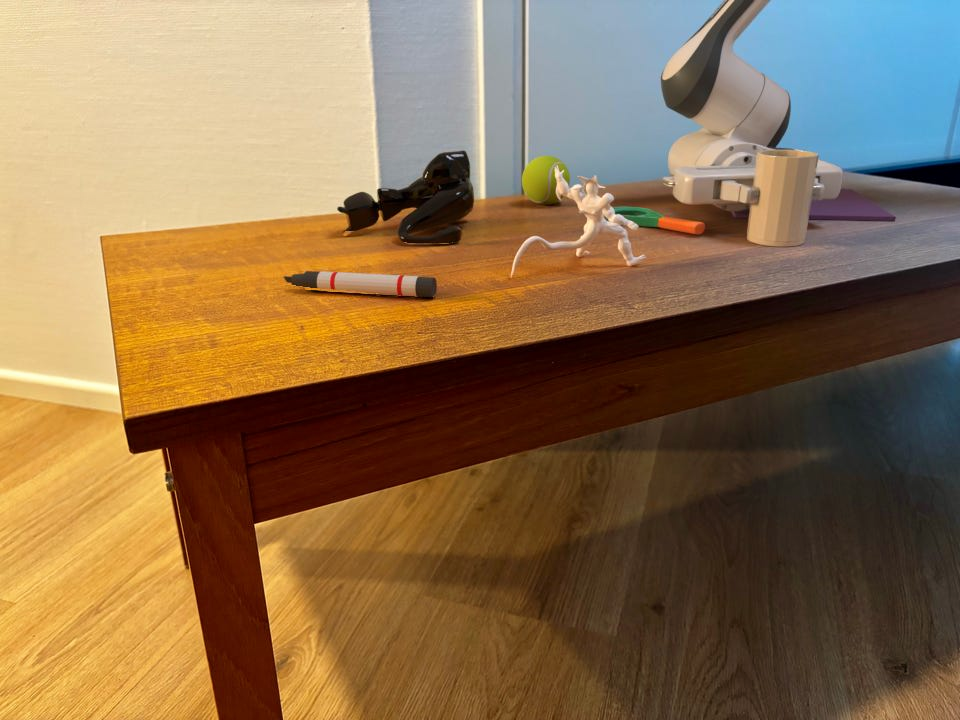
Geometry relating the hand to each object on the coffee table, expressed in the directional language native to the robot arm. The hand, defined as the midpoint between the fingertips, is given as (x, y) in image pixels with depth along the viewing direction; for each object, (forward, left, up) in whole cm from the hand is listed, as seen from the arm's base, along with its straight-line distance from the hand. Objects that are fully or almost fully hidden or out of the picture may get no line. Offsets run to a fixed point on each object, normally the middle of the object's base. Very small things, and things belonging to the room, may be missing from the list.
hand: (786, 194), depth 84 cm
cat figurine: (+43, +1, -6) cm, 44 cm away
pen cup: (0, -1, -6) cm, 6 cm away
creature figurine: (+22, +14, -6) cm, 27 cm away
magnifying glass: (+14, -7, -6) cm, 17 cm away
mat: (-7, -23, -6) cm, 24 cm away
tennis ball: (+29, -20, -6) cm, 36 cm away
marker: (+43, +25, -6) cm, 50 cm away
